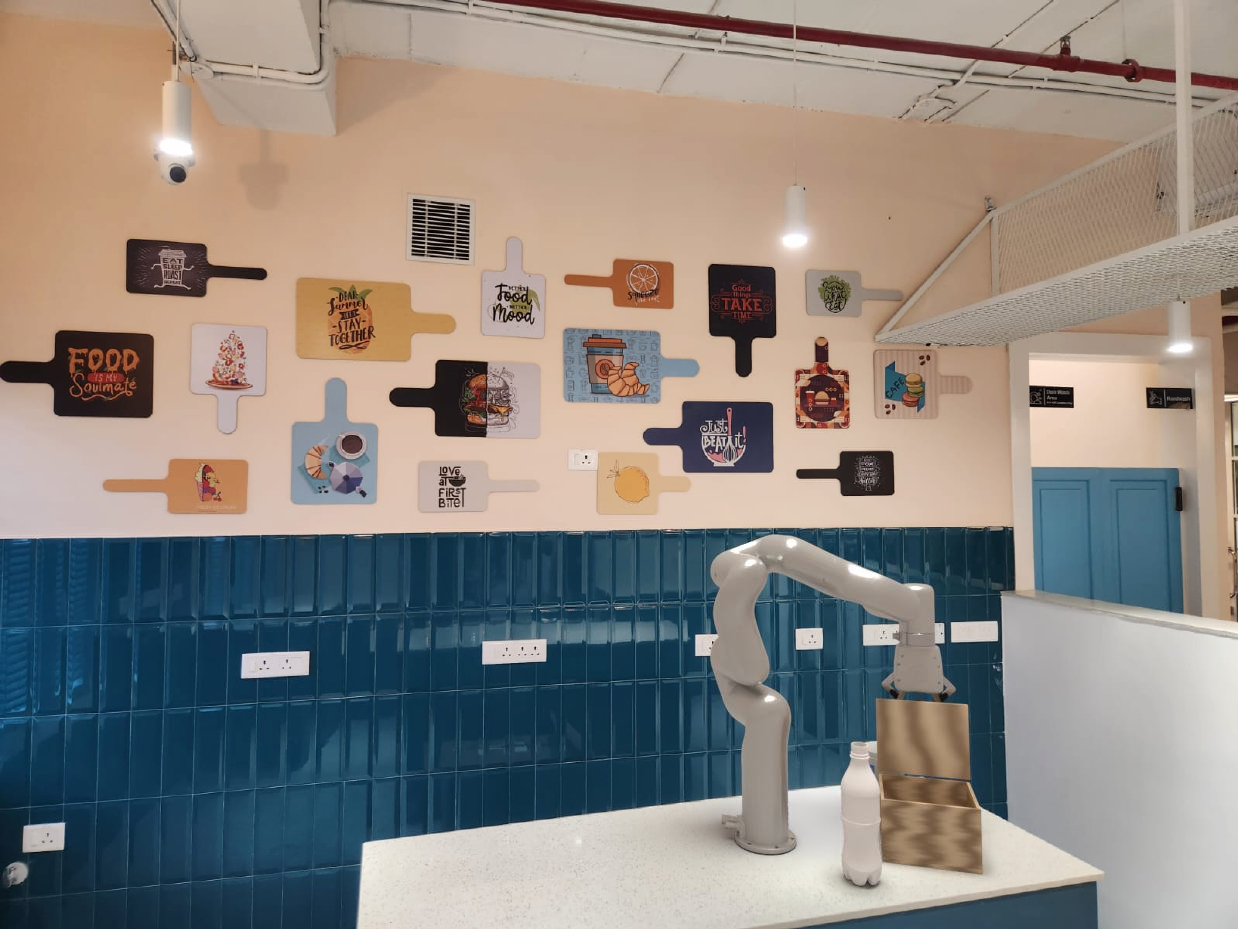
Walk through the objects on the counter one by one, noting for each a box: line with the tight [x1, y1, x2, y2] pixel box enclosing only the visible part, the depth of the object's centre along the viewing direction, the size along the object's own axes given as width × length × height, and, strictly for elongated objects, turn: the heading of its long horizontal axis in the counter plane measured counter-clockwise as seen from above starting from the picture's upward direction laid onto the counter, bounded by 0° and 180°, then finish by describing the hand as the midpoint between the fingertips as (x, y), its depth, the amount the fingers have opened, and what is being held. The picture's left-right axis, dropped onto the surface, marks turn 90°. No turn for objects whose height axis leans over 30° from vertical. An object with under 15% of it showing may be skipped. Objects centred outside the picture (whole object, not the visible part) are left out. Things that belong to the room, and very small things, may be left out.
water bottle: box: [839, 741, 883, 887], centre depth 143 cm, size 7×7×25 cm
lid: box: [875, 697, 971, 781], centre depth 165 cm, size 18×15×8 cm
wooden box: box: [879, 773, 984, 875], centre depth 154 cm, size 18×15×12 cm
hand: (918, 720), depth 169 cm, fingers open, 6 cm apart
